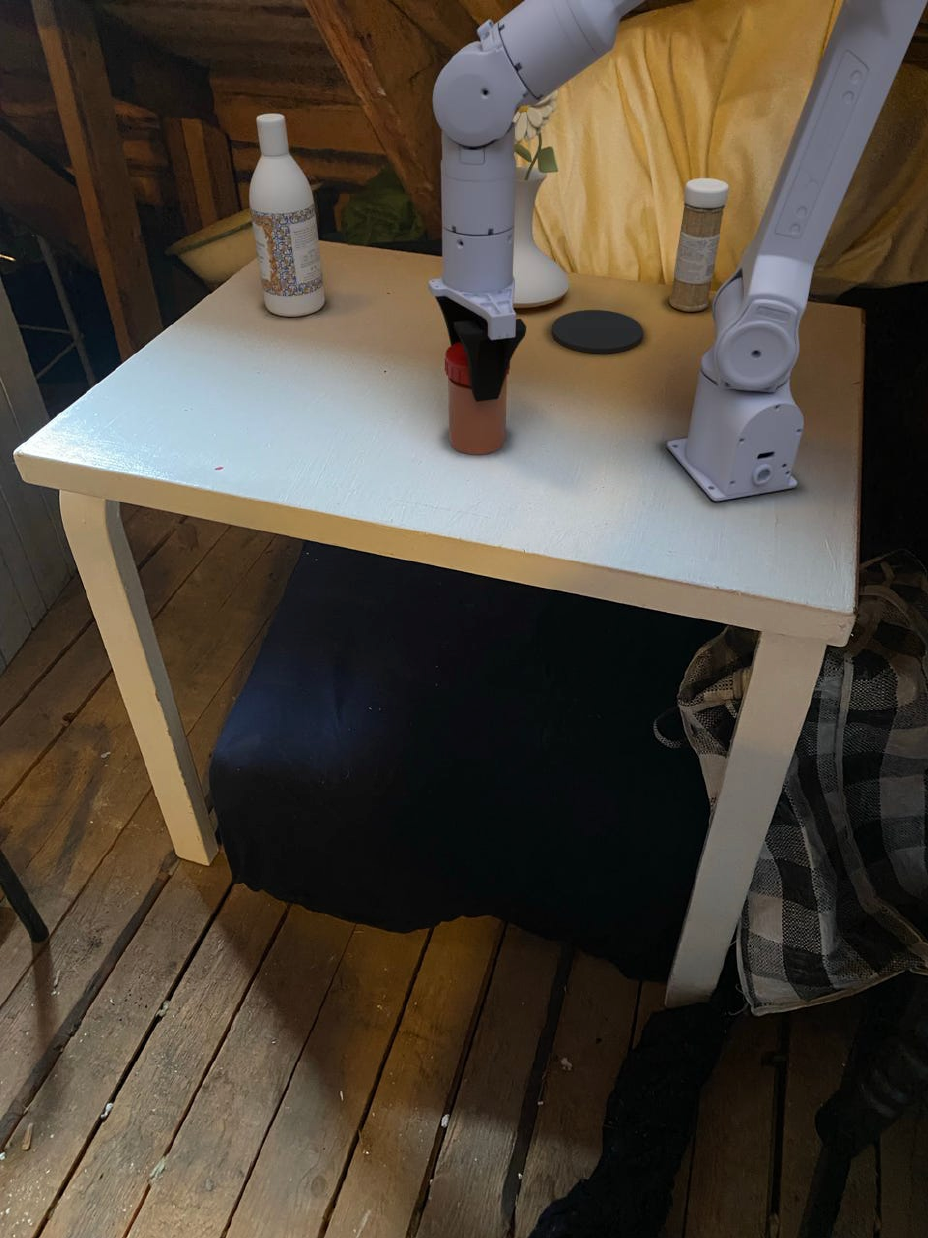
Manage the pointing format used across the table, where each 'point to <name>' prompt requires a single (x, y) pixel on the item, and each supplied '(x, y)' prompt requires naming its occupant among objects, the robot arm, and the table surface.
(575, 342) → the coaster
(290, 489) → the table surface
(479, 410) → the jar
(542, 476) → the table surface
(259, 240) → the bath foam
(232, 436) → the table surface
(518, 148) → the flower in vase
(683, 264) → the sprinkles bottle
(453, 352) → the lid
